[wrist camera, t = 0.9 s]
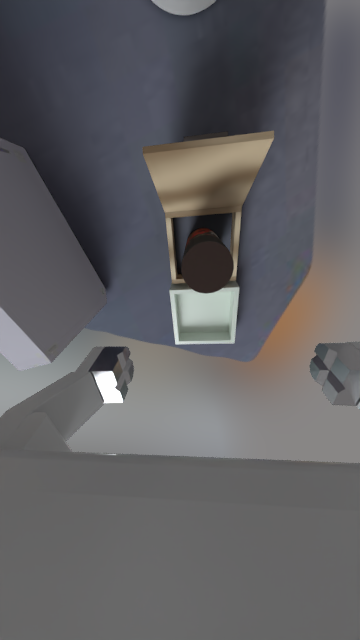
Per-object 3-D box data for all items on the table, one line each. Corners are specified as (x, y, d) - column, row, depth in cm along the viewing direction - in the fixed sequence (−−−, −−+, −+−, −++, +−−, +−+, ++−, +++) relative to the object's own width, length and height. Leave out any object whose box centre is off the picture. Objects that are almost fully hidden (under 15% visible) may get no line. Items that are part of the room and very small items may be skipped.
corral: (167, 212, 32) (165, 212, 29) (237, 205, 30) (241, 205, 28) (173, 278, 38) (172, 283, 35) (232, 275, 36) (235, 280, 34)
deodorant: (223, 232, 33) (242, 248, 20) (213, 265, 36) (223, 298, 23) (190, 224, 32) (187, 235, 20) (183, 258, 35) (176, 287, 23)
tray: (171, 283, 38) (169, 290, 35) (235, 279, 37) (239, 287, 33) (177, 333, 44) (175, 344, 41) (231, 332, 43) (234, 343, 40)
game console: (21, 138, 28) (-247, 32, 11) (112, 297, 41) (53, 362, 24) (-7, 156, 29) (-284, 85, 12) (90, 305, 42) (19, 371, 25)
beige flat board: (164, 212, 29) (164, 202, 29) (242, 205, 28) (242, 195, 28) (143, 154, 17) (142, 137, 17) (273, 138, 16) (274, 120, 16)
